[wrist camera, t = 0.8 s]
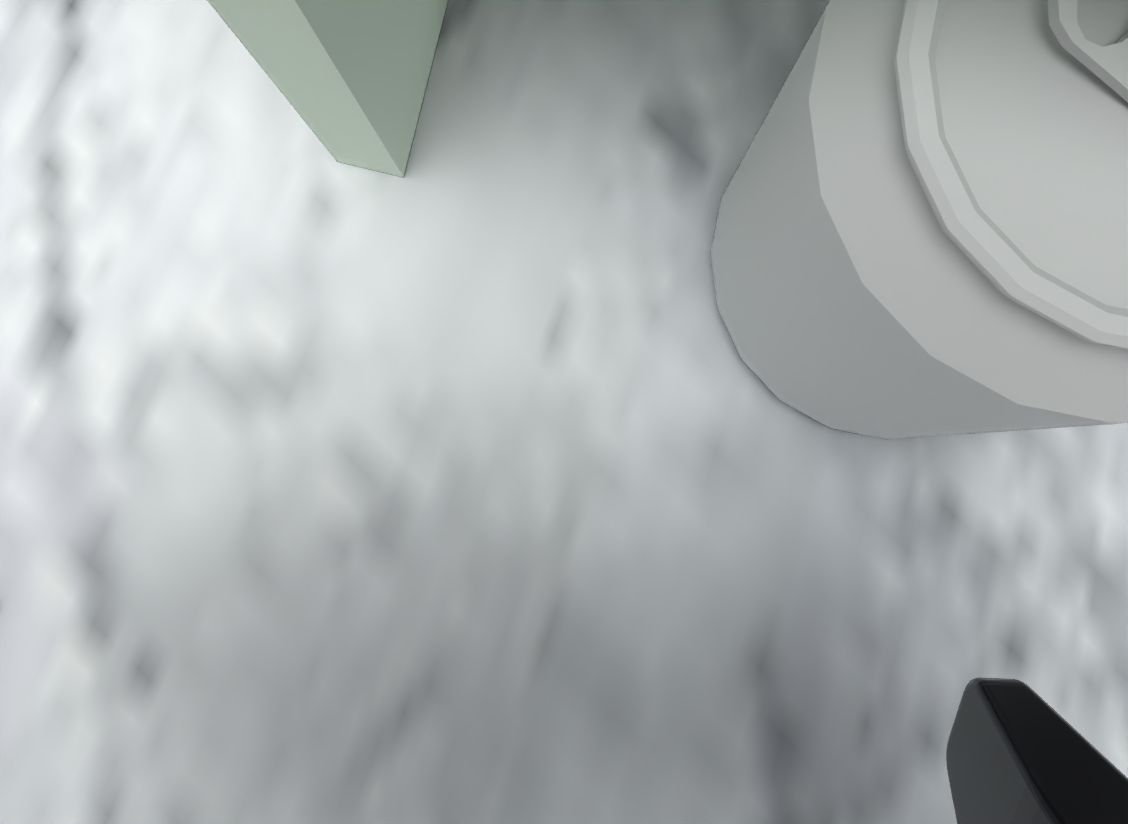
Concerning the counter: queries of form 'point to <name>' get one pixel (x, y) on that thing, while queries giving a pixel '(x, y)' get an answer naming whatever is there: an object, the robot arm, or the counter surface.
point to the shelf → (346, 68)
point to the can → (939, 220)
